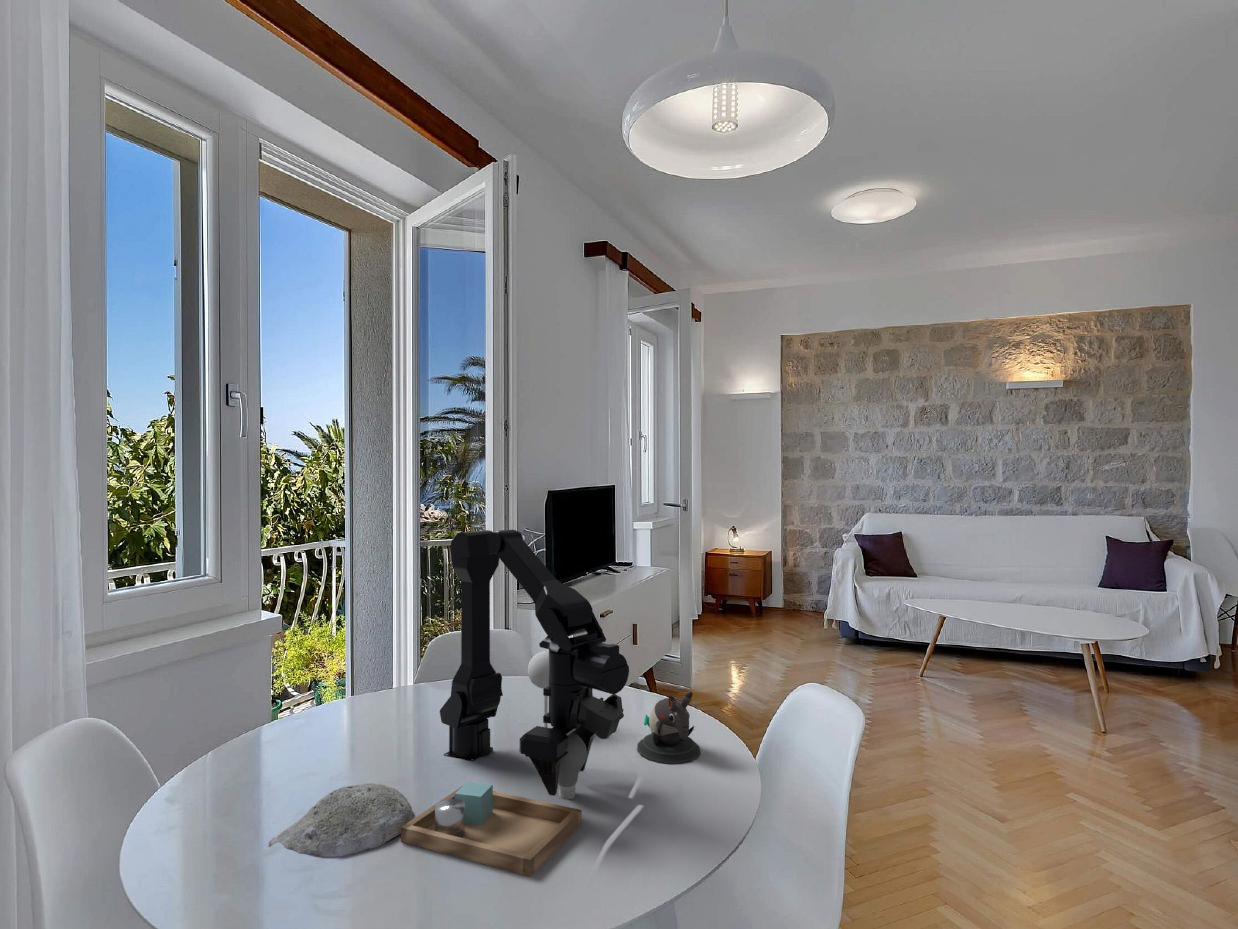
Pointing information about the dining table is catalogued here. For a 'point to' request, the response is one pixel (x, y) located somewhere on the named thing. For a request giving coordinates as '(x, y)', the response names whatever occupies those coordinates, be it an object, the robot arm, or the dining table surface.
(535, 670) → the lollipop
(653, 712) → the figurine
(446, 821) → the grey metal cylinder
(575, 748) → the light bulb
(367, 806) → the stone
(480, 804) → the teal block
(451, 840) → the tray
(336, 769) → the dining table surface
